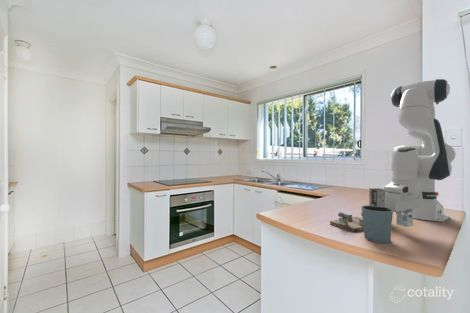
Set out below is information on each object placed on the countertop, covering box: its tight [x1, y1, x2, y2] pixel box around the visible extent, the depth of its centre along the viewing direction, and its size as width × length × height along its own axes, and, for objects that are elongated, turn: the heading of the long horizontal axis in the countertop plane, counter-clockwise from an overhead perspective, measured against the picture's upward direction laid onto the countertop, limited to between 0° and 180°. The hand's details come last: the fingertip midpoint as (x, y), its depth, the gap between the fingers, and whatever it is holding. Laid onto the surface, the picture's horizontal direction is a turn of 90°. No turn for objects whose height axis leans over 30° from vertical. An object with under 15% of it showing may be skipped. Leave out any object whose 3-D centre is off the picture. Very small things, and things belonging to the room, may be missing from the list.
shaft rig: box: [329, 211, 364, 233], centre depth 100 cm, size 21×12×7 cm, turn 115°
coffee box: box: [368, 187, 387, 207], centre depth 106 cm, size 9×6×16 cm
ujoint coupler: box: [395, 210, 414, 228], centre depth 89 cm, size 4×5×6 cm
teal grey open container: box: [361, 204, 394, 244], centre depth 84 cm, size 10×10×12 cm
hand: (404, 219), depth 89 cm, fingers closed on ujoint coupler, 4 cm apart
